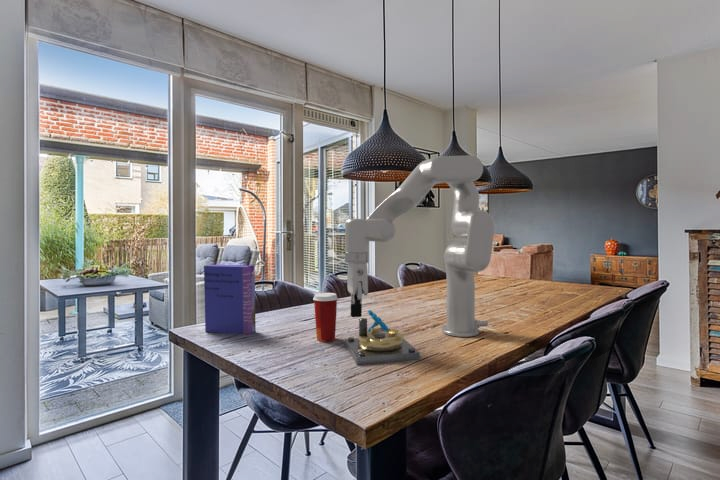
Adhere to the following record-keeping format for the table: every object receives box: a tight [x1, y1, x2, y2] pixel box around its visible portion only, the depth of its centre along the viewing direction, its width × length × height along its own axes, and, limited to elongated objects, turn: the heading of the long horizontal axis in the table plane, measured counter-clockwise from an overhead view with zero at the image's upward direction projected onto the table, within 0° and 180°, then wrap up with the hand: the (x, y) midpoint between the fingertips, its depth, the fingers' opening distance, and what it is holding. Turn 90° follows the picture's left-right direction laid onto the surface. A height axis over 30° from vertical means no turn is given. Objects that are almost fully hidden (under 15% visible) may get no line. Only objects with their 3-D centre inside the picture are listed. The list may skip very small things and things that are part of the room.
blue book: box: [203, 264, 257, 336], centre depth 142 cm, size 17×5×24 cm, turn 74°
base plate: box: [344, 337, 421, 365], centre depth 118 cm, size 18×18×3 cm
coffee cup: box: [312, 292, 339, 343], centre depth 131 cm, size 8×8×15 cm
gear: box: [367, 309, 390, 332], centre depth 141 cm, size 11×6×10 cm
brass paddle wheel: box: [357, 317, 404, 351], centre depth 117 cm, size 13×13×7 cm
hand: (356, 316), depth 124 cm, fingers closed
